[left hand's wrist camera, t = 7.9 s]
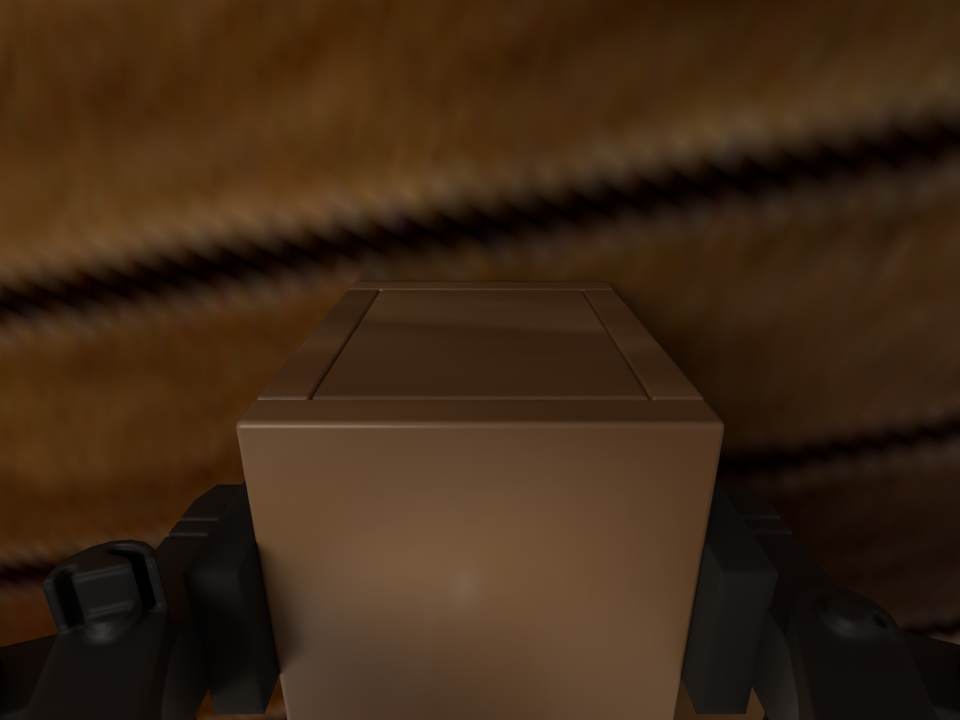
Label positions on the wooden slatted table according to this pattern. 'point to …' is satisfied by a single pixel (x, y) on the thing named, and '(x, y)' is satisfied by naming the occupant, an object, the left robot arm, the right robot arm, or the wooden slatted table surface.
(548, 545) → the cabinet
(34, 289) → the wooden slatted table surface
